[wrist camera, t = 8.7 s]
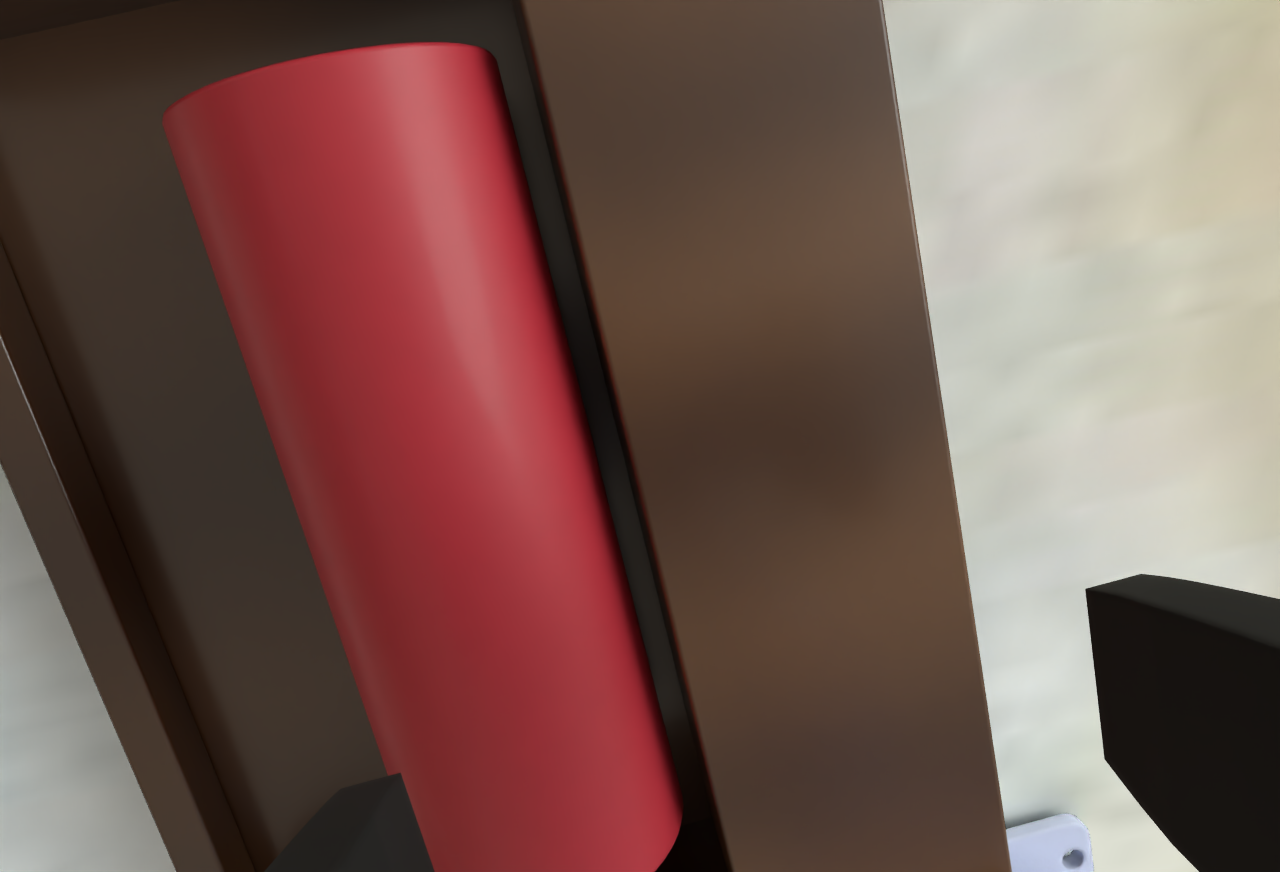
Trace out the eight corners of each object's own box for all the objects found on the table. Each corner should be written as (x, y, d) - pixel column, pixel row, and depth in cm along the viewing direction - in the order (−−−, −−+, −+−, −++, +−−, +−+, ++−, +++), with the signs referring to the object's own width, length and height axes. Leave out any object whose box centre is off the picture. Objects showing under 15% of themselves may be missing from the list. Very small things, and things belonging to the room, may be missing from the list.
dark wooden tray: (893, 737, 20) (1037, 945, 14) (285, 903, 19) (172, 1195, 13) (736, -135, 15) (851, -357, 10) (-59, 40, 15) (-449, -87, 9)
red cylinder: (429, 797, 16) (652, 723, 17) (423, 983, 12) (717, 875, 13) (212, 145, 14) (488, 87, 14) (102, 95, 9) (504, 15, 10)
